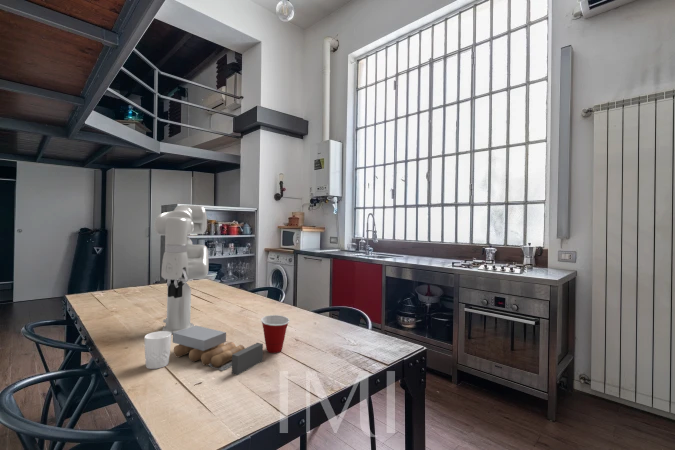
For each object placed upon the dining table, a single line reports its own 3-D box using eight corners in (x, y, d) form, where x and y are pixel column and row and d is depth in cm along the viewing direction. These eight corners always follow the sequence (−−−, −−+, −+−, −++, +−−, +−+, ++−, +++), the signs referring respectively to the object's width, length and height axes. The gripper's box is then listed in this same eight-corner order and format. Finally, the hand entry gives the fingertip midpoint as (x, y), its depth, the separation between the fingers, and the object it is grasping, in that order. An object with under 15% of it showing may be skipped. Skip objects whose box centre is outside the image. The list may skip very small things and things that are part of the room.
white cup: (151, 372, 102) (152, 340, 102) (138, 366, 106) (139, 335, 106) (175, 363, 109) (176, 333, 109) (162, 358, 113) (163, 329, 113)
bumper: (231, 373, 102) (232, 354, 102) (257, 359, 113) (257, 342, 113) (237, 375, 101) (237, 356, 101) (262, 361, 112) (262, 343, 112)
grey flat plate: (209, 366, 107) (209, 363, 107) (235, 354, 118) (235, 351, 118) (222, 370, 104) (222, 367, 104) (248, 357, 115) (248, 354, 115)
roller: (210, 355, 107) (218, 357, 105) (237, 344, 117) (245, 345, 115) (211, 366, 106) (218, 368, 105) (238, 354, 117) (245, 355, 115)
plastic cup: (274, 358, 114) (274, 324, 114) (254, 351, 121) (254, 319, 121) (295, 349, 123) (295, 318, 123) (275, 342, 129) (276, 313, 130)
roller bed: (173, 355, 115) (173, 344, 115) (201, 345, 126) (201, 334, 126) (209, 366, 107) (209, 354, 107) (235, 354, 117) (236, 343, 118)
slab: (172, 342, 117) (172, 332, 117) (195, 334, 126) (196, 325, 126) (203, 350, 109) (203, 340, 109) (225, 341, 118) (226, 332, 118)
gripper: (153, 248, 124) (152, 296, 124) (181, 251, 117) (180, 301, 117) (171, 247, 131) (170, 292, 131) (198, 249, 124) (197, 297, 124)
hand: (175, 296), depth 124 cm, fingers open, 2 cm apart
